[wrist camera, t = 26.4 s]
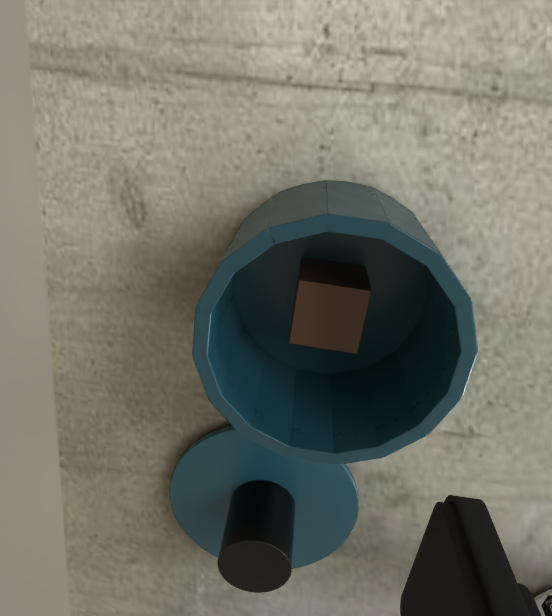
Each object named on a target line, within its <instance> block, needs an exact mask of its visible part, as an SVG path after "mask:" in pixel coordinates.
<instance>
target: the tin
mask: <svg viewBox="0 0 552 616" xmlns="http://www.w3.org/2000/svg"><path fill="white" fill-rule="evenodd" d="M301 257H308V258H314V259H321V260H328V261H334V262H341V263H348V264H354V265H361V266H366V270H367V274H368V278H369V282H370V286H371V290H372V292H371V297H370V301H369V305H368V310H367V314H366V318H365V323H364V327H363V332H362V336H361V340H360V345H359V349H358V353H357V354H354V353H348V352H341V351H335V350H328V349H322V348H315V347H309V346H303V345H296V344H290V343H289V337H290V329H291V321H292V313H293V307H294V300H295V294H296V288H297V282H298V275H299V269H300V263H301ZM477 353H478V346H477V338H476V330H475V322H474V314H473V306H472V301H471V298H470V296H469V295H468V293H467V292H466V290H465V289H464V287H463V286H462V284H461V283H460V281H459V280H458V278H457V277H456V275H455V274H454V272H453V271H452V269H451V268H450V266H449V265H448V263H447V262H446V260H445V259H444V257H443V256H442V254H441V253H440V251H439V250H438V249H437V247H436V246H435V244H434V243H433V241H432V240H431V238H430V237H429V235H428V234H427V233H426V231H425V230H424V228H423V227H422V225H421V224H420V222H419V221H418V220H417V218H416V217H415V215H414V214H413V212H412V211H411V210H409V209H407V208H406V207H404V206H403V205H401V204H400V203H399V202H397V201H396V200H394V199H393V198H392V197H390V196H388V195H386V194H384V193H382V192H380V191H378V190H377V189H375V188H372V187H369V186H365V185H361V184H356V183H352V182H344V181H329V180H327V181H326V180H324V181H318V182H313V183H307V184H303V185H299V186H296V187H293V188H290V189H288V190H285V191H281V192H279V193H278V194H277V195H275V196H274V197H272V198H271V199H269V200H268V201H266V202H265V203H263V204H262V205H261V206H260V207H259V208H257V209H256V210H255V211H254V212H253V213H252V214H250V215H249V216H248V217H246V218H245V219H244V221H243V223H242V224H241V226H240V228H239V230H238V232H237V233H236V235H235V237H234V239H233V240H232V242H231V244H230V246H229V248H228V249H227V251H226V253H225V255H224V257H223V258H222V260H221V262H220V264H219V266H218V267H217V269H216V271H215V273H214V275H213V276H212V278H211V280H210V282H209V284H208V285H207V287H206V289H205V291H204V293H203V294H202V296H201V298H200V300H199V302H198V304H197V305H196V309H195V321H194V336H193V350H192V355H193V360H194V362H195V365H196V368H197V370H198V373H199V375H200V378H201V381H202V383H203V386H204V389H205V391H206V394H207V397H208V399H209V401H210V402H211V403H212V404H213V405H214V406H215V408H216V409H217V410H218V411H219V412H220V413H221V414H222V415H223V416H224V417H225V418H226V419H227V420H228V421H229V422H230V424H231V425H232V426H233V427H234V428H235V429H236V430H237V431H238V432H239V433H240V434H241V435H242V436H244V437H246V438H248V439H250V440H252V441H254V442H256V443H258V444H260V445H261V446H263V447H265V448H267V449H269V450H271V451H273V452H275V453H277V454H279V455H281V456H283V457H286V458H292V459H298V460H305V461H311V462H317V463H323V464H330V465H339V464H346V463H352V462H359V461H366V460H372V459H379V458H383V457H386V456H388V455H390V454H392V453H394V452H396V451H398V450H399V449H401V448H403V447H405V446H407V445H409V444H411V443H413V442H415V441H417V440H419V439H421V438H423V437H425V436H427V435H429V434H430V433H431V432H432V430H433V429H434V428H435V427H436V426H437V425H438V424H439V423H440V422H441V421H442V420H443V419H444V417H445V416H446V415H447V414H448V413H449V412H450V411H451V410H452V409H453V408H454V407H455V405H456V404H457V403H458V402H459V401H460V400H461V399H462V396H463V393H464V391H465V388H466V385H467V382H468V379H469V376H470V373H471V370H472V367H473V364H474V362H475V359H476V356H477Z"/></svg>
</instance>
